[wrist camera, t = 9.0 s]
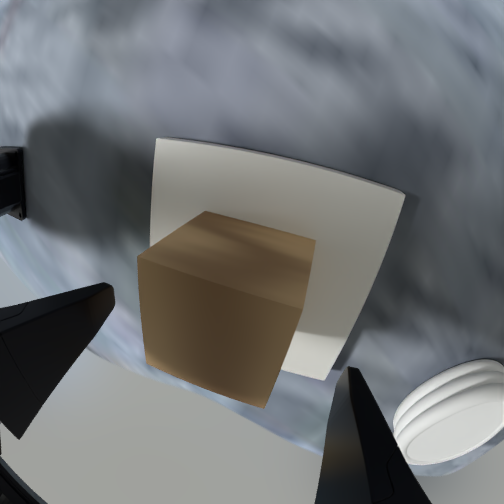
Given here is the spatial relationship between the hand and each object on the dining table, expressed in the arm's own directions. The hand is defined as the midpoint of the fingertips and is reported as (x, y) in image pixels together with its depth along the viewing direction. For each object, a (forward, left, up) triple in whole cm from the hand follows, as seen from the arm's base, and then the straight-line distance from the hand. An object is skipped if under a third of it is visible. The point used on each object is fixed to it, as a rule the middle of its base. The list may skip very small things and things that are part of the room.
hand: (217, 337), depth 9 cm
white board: (0, 0, -5) cm, 5 cm away
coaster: (+17, -7, -6) cm, 19 cm away
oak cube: (0, 0, -4) cm, 4 cm away
